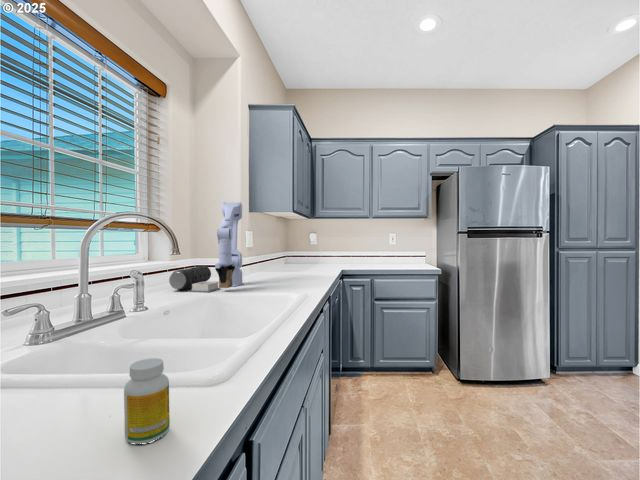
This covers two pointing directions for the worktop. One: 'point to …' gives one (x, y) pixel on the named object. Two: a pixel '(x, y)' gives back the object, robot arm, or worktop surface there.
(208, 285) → the socket block
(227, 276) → the walnut plug
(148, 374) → the supplement bottle
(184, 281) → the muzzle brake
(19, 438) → the worktop surface
